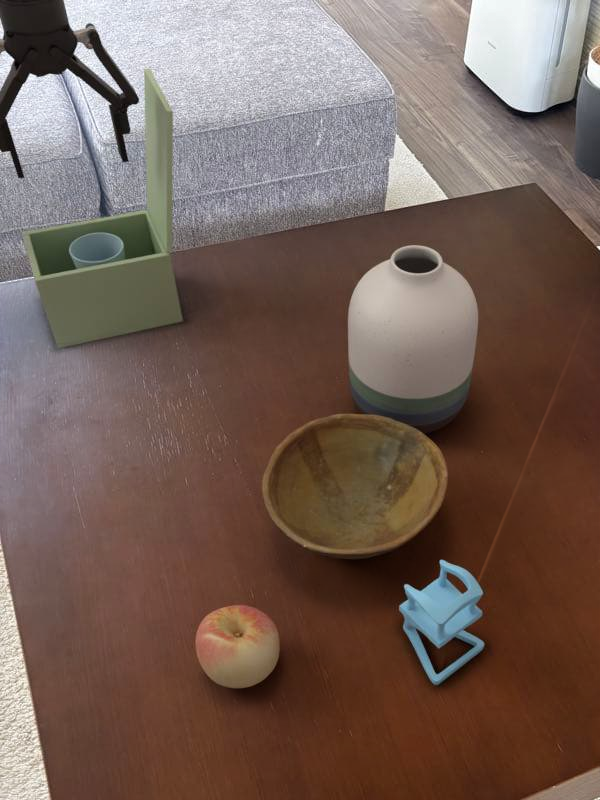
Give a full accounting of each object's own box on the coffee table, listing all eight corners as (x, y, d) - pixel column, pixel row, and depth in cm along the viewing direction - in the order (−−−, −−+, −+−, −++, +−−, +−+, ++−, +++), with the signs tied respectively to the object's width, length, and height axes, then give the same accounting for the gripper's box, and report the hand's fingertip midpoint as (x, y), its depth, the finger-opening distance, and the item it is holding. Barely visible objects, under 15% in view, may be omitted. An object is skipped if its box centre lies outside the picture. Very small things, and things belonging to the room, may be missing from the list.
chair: (436, 602, 102) (443, 539, 93) (485, 648, 99) (498, 587, 89) (387, 638, 99) (390, 576, 90) (435, 687, 95) (444, 628, 86)
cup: (128, 286, 137) (113, 227, 129) (144, 313, 133) (130, 253, 125) (81, 299, 134) (62, 239, 126) (96, 327, 130) (78, 267, 122)
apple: (193, 648, 97) (182, 608, 91) (268, 623, 100) (262, 582, 93) (215, 712, 92) (204, 675, 86) (293, 684, 95) (289, 646, 89)
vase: (393, 352, 131) (398, 206, 112) (488, 398, 125) (511, 252, 107) (325, 414, 122) (318, 266, 103) (424, 466, 116) (437, 320, 97)
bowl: (480, 537, 109) (490, 484, 101) (339, 635, 99) (337, 584, 91) (370, 441, 119) (371, 386, 111) (231, 522, 109) (221, 467, 101)
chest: (58, 349, 128) (34, 280, 119) (44, 300, 135) (21, 231, 126) (183, 322, 133) (170, 254, 124) (163, 276, 140) (149, 209, 131)
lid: (166, 110, 109) (172, 111, 110) (144, 68, 116) (150, 68, 117) (166, 252, 123) (172, 251, 124) (146, 206, 131) (152, 206, 131)
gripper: (-88, 12, 94) (-22, 194, 110) (142, -11, 101) (171, 164, 117) (-93, -14, 98) (-29, 165, 114) (128, -34, 105) (158, 138, 121)
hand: (72, 165), depth 116 cm, fingers open, 13 cm apart
